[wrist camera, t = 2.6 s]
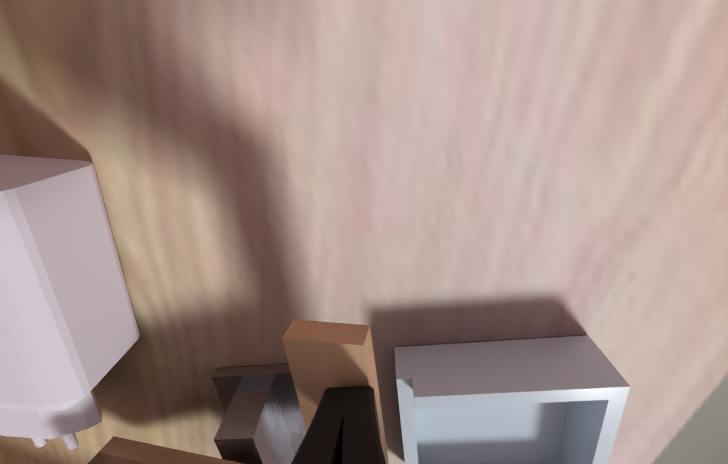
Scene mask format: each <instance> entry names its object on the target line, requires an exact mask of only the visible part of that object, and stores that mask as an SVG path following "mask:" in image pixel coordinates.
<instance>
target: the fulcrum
mask: <svg viewBox="0 0 728 464" xmlns="http://www.w3.org/2000/svg"><path fill="white" fill-rule="evenodd" d="M212 379H213V381H214V384H215V386H216V389H217V391H218V394H219V396H220V398H221V401H222V403H223V406H224V408H225V411H226V414H225V416H224V418H223V421H222V423H221V425H220V427H219V429H218V432H217V434H216V436H215V438H214V441H215V443H216V446H217V448H218V450H219V452H220V454H221V457H222V459H224V460H228V461H233V462H238V463H243V464H291V463H292V461H293V459H294V457H295V455H296V453H297V451H298V449H299V447H300V445H301V443H302V441H303V439H304V437H305V435H306V432H307V429H306V426H305V422H304V418H303V415H302V411H301V407H300V404H299V400H298V397H297V393H296V389H295V386H294V382H293V378H292V375H291V371H290V367H289V364H281V365H264V366H247V367H230V368H217V369H216V371H215V373H214V374H213V376H212Z"/></svg>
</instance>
